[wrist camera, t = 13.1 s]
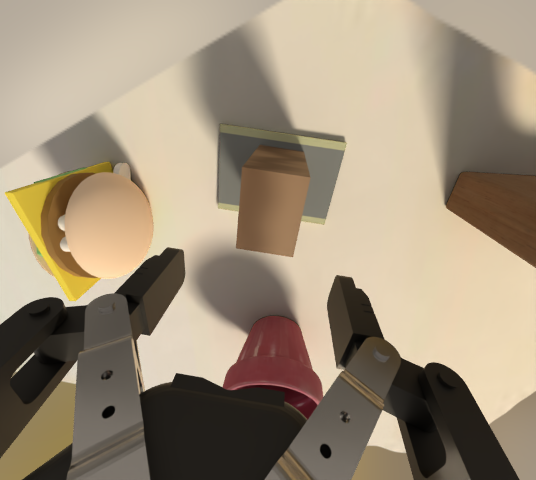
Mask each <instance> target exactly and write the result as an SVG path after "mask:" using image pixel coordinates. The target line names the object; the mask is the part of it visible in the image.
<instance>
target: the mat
mask: <svg viewBox="0 0 536 480" xmlns="http://www.w3.org/2000/svg"><path fill="white" fill-rule="evenodd" d="M346 144H347V143H346V142H340V141H333V140H327V139H320V138H313V137H307V136H300V135H293V134H286V133H280V132H273V131H266V130H260V129H253V128H246V127H240V126H233V125H226V124H220V149H219V194H218V208H219V209H225V210H232V211H239V202H240V188H241V175H242V166H243V165H244V164H245V163H246V161H247V160H248V159H249V158H250V156H251V155H252V154H253V153H254V151H255V150H256V149H257V148H258V146H259V145H264V146H271V147H277V148H284V149H290V150H297V151H303V152H304V154H305V158H306V162H307V166H308V170H309V174H310V177H311V178H310V182H309V187H308V191H307V196H306V200H305V205H304V209H303V214H302V218H301V221H304V222H310V223H317V224H323V225H324V224H325V220H326V216H327V213H328V209H329V206H330V202H331V198H332V195H333V191H334V187H335V184H336V180H337V177H338V173H339V169H340V166H341V162H342V159H343V155H344V151H345V148H346Z"/></svg>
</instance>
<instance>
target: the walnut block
mask: <svg viewBox="0 0 536 480" xmlns="http://www.w3.org/2000/svg"><path fill="white" fill-rule="evenodd" d="M310 178H311V177H310V174H309V170H308V166H307V162H306V158H305V154H304V152H303V151H297V150H290V149H284V148H277V147H271V146H264V145H259V146H258V148H257V149H256V150H255V151H254V153H253V154H252V155H251V156H250V158H249V159H248V160H247V161H246V163H245V164H244V165H243V166H242V175H241V188H240V202H239V215H238V229H237V243H236V248H238V249H244V250H251V251H257V252H263V253H270V254H276V255H282V256H289V257H293V254H294V250H295V245H296V241H297V236H298V232H299V227H300V223H301V218H302V214H303V209H304V205H305V200H306V196H307V191H308V187H309V182H310Z"/></svg>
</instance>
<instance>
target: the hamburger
mask: <svg viewBox="0 0 536 480" xmlns="http://www.w3.org/2000/svg"><path fill="white" fill-rule="evenodd" d="M5 195H6V196H7V198H8V200H9V201H10V203H11V205H12V206H13V208H14V210H15V211H16V213H17V215H18V216H19V218H20V220H21V221H22V223H23V225H24V226H25V228H26V230H27V231H28V233H29V240H30V244H31V249H32V251H33V253H34V255H35V258H36V260H37V261H38V262H39V264H40V265H41V267H42V268H43V269H45V270H46V271H47V272H48V273H49V274H50V275H52V276H54V277H55V278H56V279H57V281H58V283H59V284H60V286H61V288H62V289H63V291H64V293H65V294H66V296H67V298H68V299H69V301H76V300H78V299H79V298H80V297H81V296H82V295H83V294H84V293H85V292H86V291H87V290H89V289H90V288H91V287H92V286H93V285H94V284H95V283H96V282H97V281H98V280H100V279H101V278H104V279H110V278H117V277H120V276H124V275H126V274H127V273H129V272H131V271H132V270H134V269H135V268H136V267H137V266H138V265H139V264H140V263H141V262H142V261H143V259H144V257H145V256H146V254H147V252H148V250H149V248H150V245H151V242H152V237H153V216H152V212H151V208H150V205H149V203H148V201H147V199H146V197H145V195H144V194H143V192H142V191H141V190H140V189H139V188H138V186H137V185H136V184H134V183H133V182H132V181H131V175H130V167H129V165H128V164H127V163H118V164H117V165H115V167H114V171H113V169H112V167H111V164H110V162H103V163H100V164H97V165H93V166H90V167H87V168H80V169H77V170H73V171H68V172H64V173H61V174H59V175H57V176H53V177H50V178H47V179H43V180H40V181H37V182H34V184H31V185H28V186H25V187H21V188H18V189H15V190H11V191H8V192H5Z"/></svg>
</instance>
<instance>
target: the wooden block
mask: <svg viewBox="0 0 536 480" xmlns="http://www.w3.org/2000/svg"><path fill="white" fill-rule="evenodd" d="M446 208H447V209H448V210H450V211H451V212H453V213H454V214H456V215H457V216H459V217H460V218H462V219H463V220H465V221H466V222H468V223H469V224H471V225H472V226H474V227H476V228H477V229H479V230H480V231H482V232H483V233H484V234H486V235H487V236H489V237H490V238H492V239H493V240H495V241H496V242H498V243H499V244H501V245H502V246H504V247H505V248H507V249H508V250H510V251H511V252H513V253H514V254H516V255H517V256H519V257H520V258H522V259H523V260H525V261H526V262H528V263H529V264H531V265H532V266H534V267H535V268H536V176H530V175H513V174H496V173H479V172H462V173H461V174H460V175H459V177H458V180H457V182H456V184H455V186H454V189H453V191H452V193H451V195H450V198H449V200H448V202H447V204H446Z"/></svg>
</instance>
